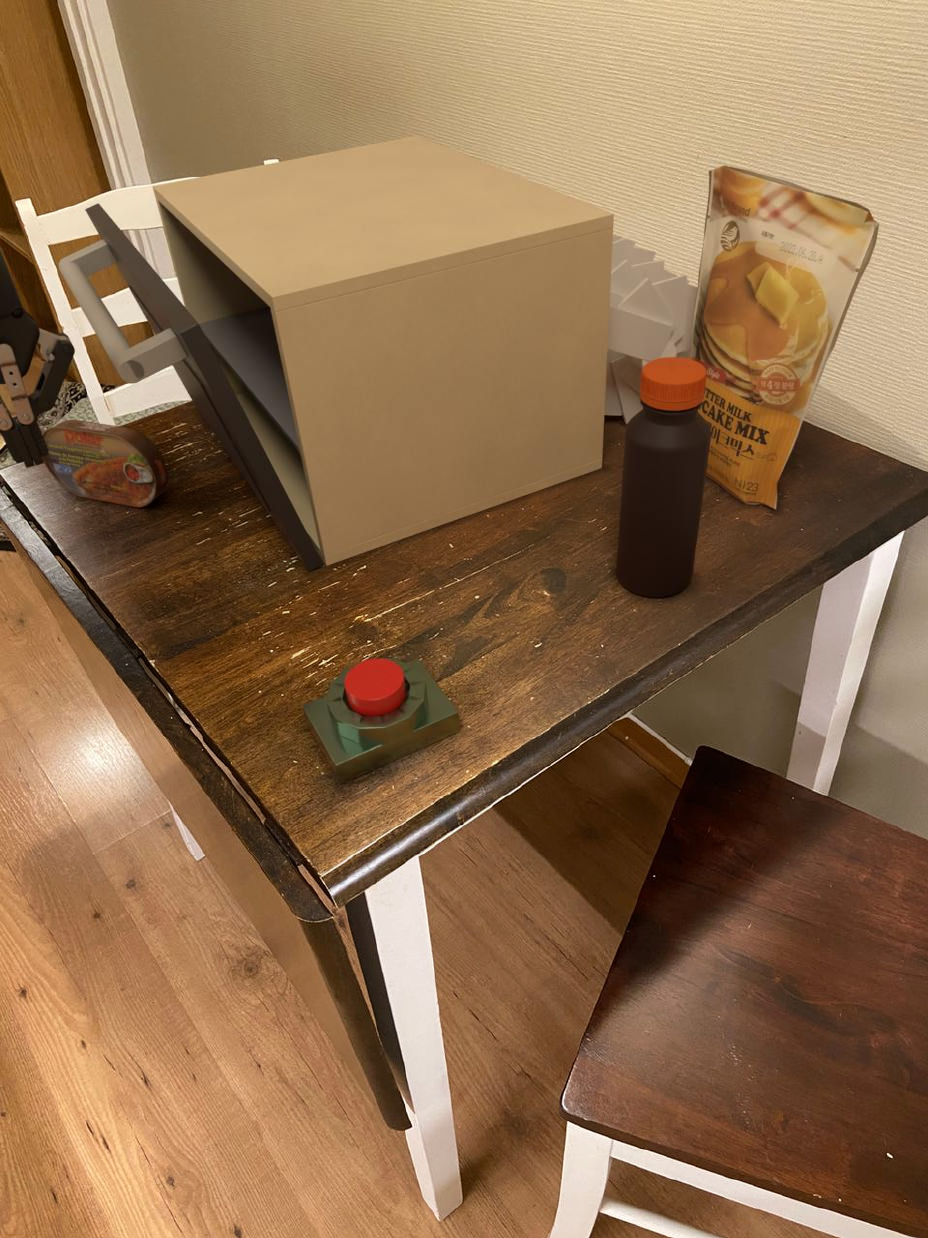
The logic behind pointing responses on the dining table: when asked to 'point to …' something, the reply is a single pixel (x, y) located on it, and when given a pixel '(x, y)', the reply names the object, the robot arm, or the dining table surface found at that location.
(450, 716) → the button base
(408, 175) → the oven
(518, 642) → the dining table surface
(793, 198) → the pancake mix bag
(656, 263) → the spiral staircase
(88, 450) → the tin
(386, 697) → the button
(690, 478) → the bottle
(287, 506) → the oven door
